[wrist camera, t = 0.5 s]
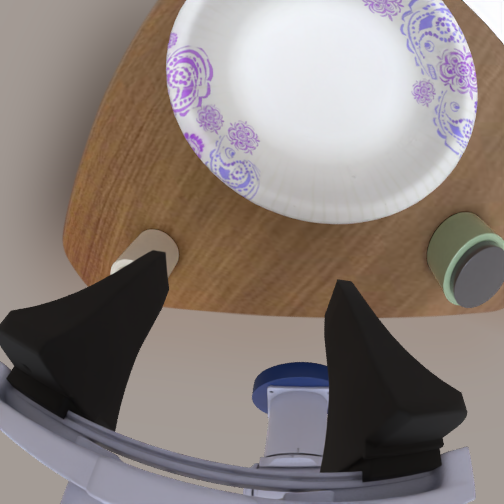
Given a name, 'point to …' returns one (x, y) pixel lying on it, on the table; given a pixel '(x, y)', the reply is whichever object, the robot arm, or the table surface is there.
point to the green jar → (466, 259)
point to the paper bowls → (323, 101)
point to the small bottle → (149, 249)
